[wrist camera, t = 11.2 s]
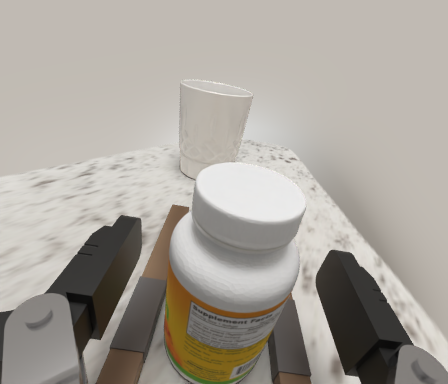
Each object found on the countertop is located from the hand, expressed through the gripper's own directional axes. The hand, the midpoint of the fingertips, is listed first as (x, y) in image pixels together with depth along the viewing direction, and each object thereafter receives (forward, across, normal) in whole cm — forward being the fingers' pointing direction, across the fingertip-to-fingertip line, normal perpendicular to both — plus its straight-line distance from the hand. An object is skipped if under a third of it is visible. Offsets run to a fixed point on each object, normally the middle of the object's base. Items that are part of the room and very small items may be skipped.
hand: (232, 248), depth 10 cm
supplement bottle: (0, 0, +7) cm, 7 cm away
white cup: (+20, +3, +7) cm, 21 cm away
